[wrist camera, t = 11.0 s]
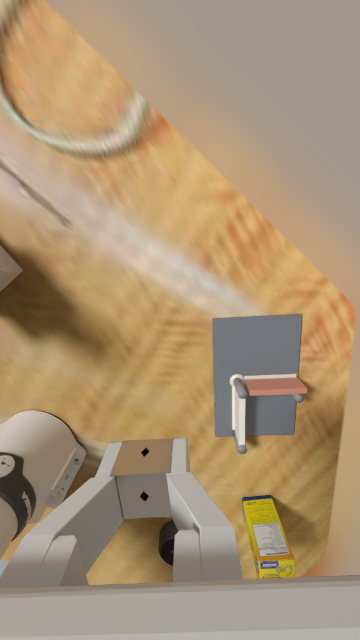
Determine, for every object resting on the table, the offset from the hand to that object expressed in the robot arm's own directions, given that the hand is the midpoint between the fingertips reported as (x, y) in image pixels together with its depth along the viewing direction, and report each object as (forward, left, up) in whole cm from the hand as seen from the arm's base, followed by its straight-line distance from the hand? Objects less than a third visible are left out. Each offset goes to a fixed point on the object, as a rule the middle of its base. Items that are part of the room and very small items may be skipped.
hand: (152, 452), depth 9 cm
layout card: (-9, -17, -31) cm, 36 cm away
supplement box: (-36, -28, -31) cm, 55 cm away
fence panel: (-8, -19, -30) cm, 37 cm away
